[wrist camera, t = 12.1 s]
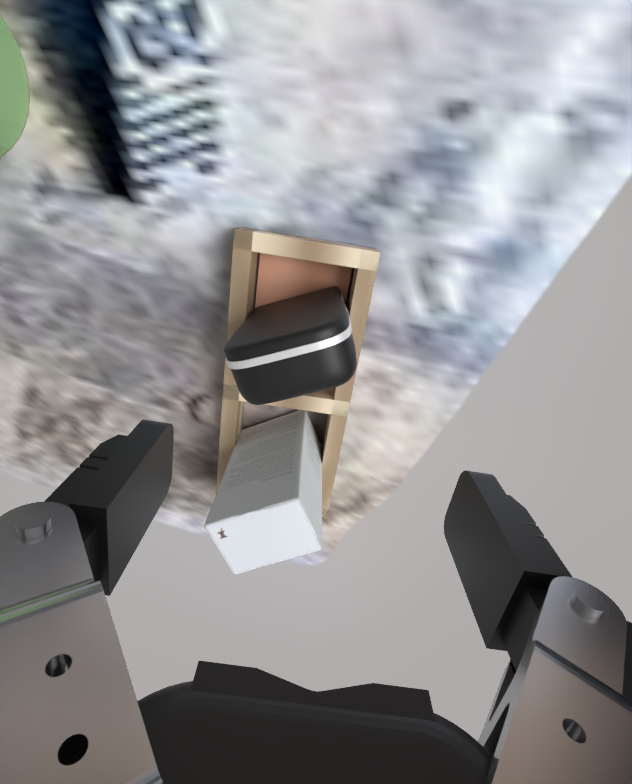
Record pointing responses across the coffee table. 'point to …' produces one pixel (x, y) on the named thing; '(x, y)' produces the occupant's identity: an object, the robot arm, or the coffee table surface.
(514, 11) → the coffee table surface
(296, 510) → the skincare box
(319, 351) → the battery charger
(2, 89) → the mug
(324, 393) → the slot organizer
